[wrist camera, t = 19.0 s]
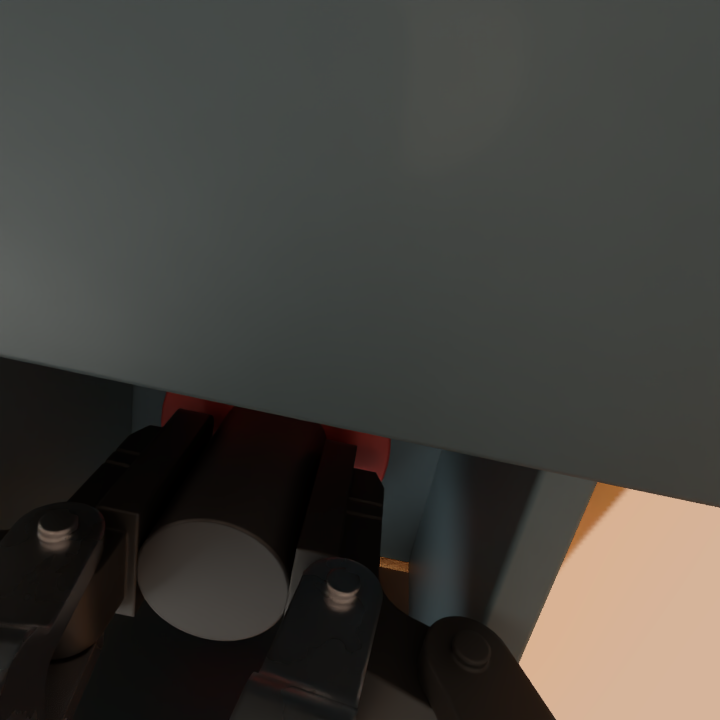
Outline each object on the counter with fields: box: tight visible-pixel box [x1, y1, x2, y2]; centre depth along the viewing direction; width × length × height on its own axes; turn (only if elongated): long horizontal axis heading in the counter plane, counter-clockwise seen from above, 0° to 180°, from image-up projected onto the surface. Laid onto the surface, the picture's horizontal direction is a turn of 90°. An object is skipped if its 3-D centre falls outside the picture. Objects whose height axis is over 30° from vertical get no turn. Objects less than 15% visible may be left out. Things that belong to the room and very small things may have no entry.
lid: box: [137, 392, 391, 641], centre depth 11 cm, size 6×6×5 cm
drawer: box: [0, 357, 597, 720], centre depth 12 cm, size 22×11×8 cm, turn 169°
